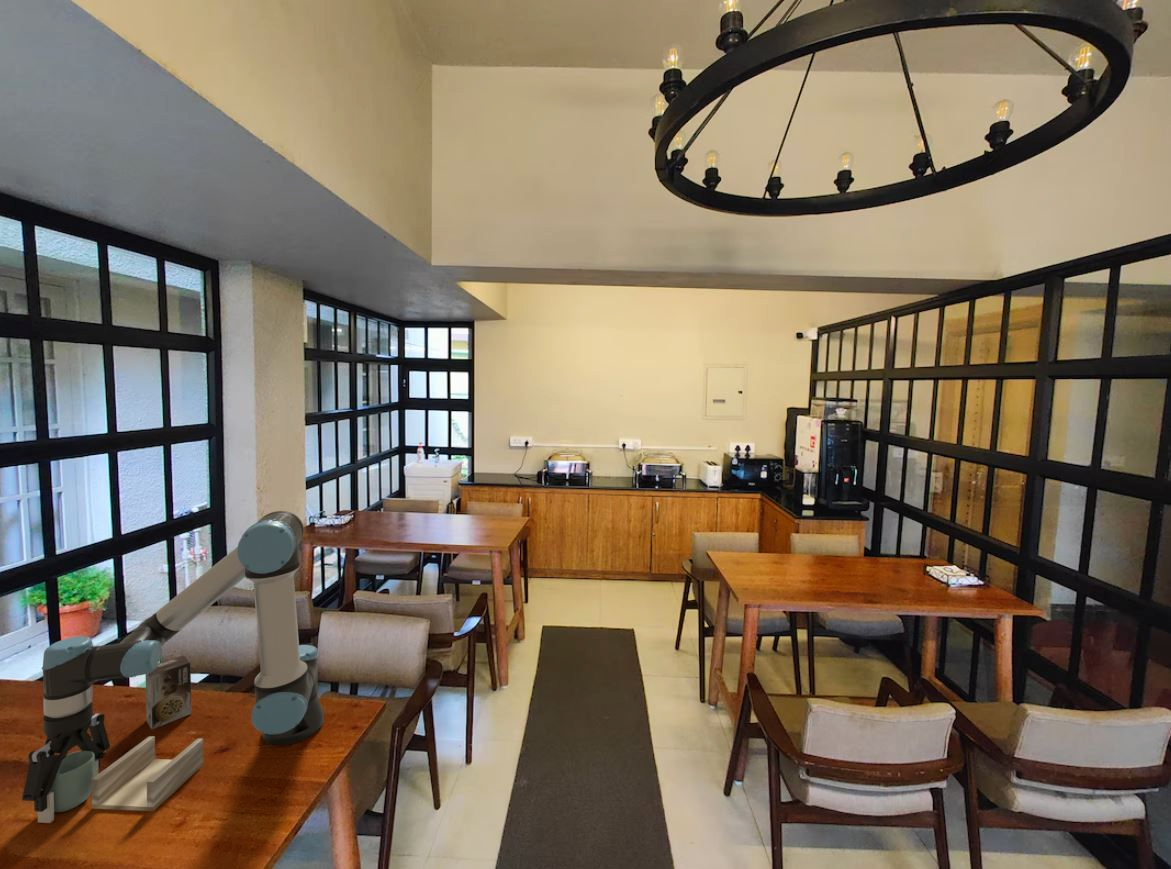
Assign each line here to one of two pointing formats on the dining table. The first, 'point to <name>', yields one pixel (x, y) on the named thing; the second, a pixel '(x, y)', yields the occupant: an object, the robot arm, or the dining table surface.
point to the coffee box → (168, 692)
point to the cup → (73, 780)
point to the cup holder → (144, 777)
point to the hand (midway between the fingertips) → (69, 803)
